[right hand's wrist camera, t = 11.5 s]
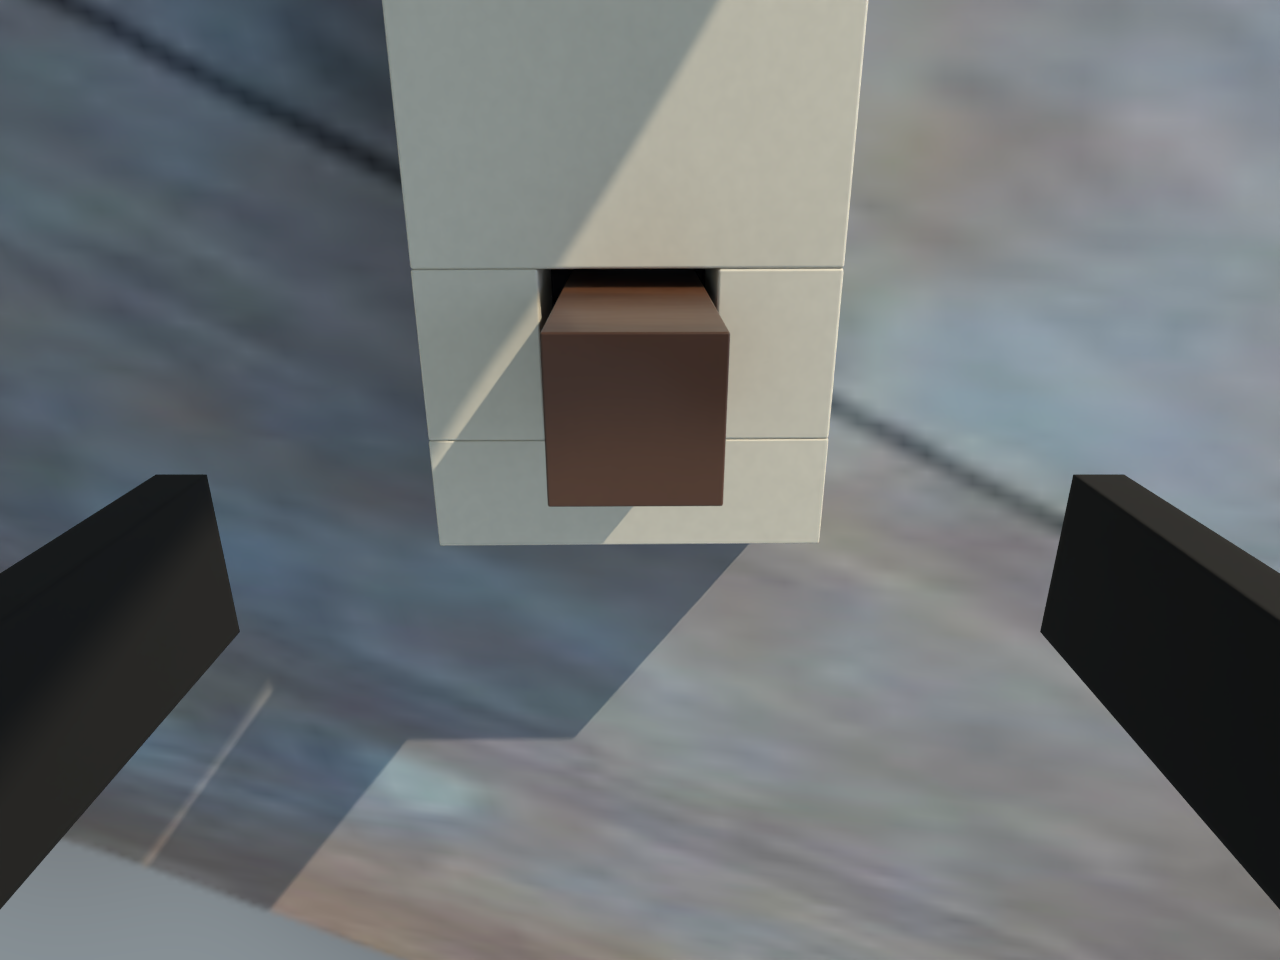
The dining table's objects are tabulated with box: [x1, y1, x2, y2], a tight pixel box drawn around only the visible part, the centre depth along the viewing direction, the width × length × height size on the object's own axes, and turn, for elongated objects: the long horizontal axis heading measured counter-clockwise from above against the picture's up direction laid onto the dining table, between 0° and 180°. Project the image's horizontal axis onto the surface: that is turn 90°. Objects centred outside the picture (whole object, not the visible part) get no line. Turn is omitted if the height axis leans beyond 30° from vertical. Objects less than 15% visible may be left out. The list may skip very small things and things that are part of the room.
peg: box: [540, 270, 730, 507], centre depth 22 cm, size 4×4×10 cm
